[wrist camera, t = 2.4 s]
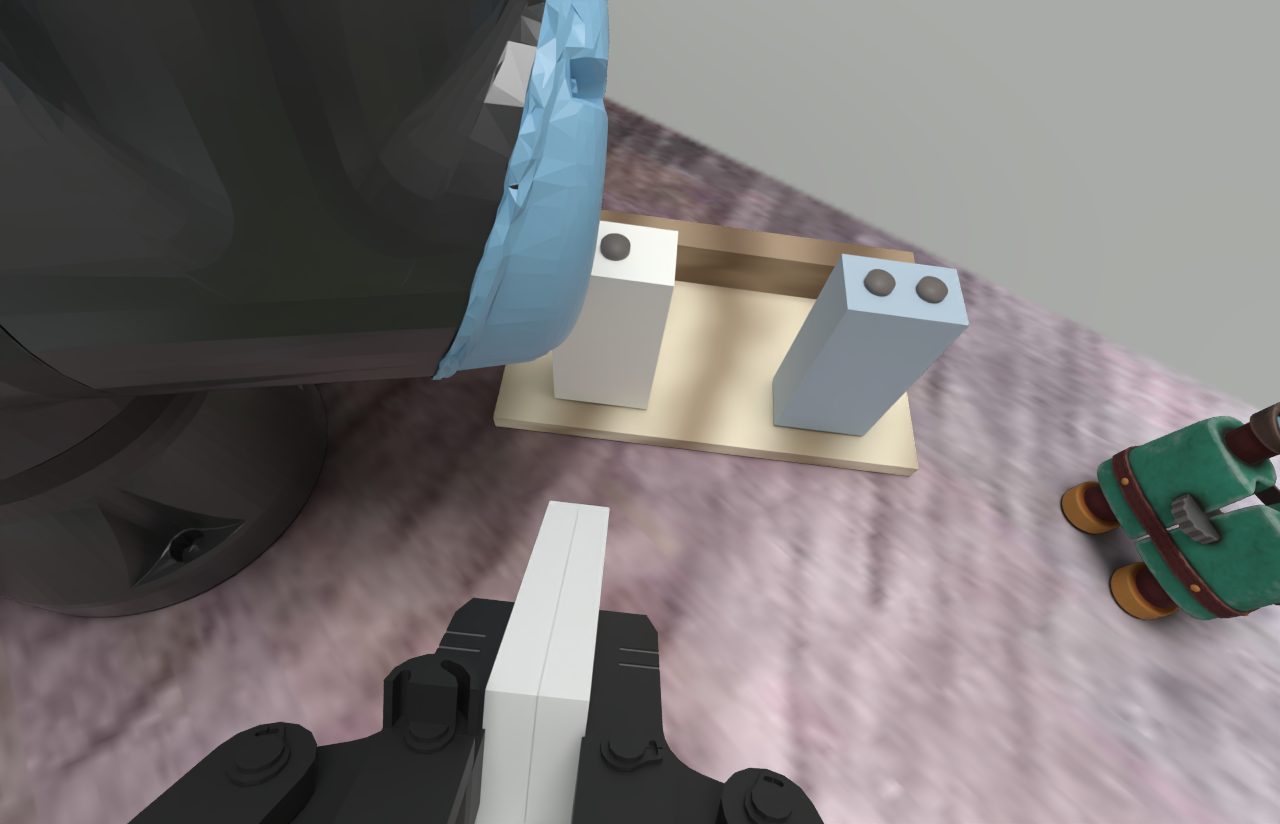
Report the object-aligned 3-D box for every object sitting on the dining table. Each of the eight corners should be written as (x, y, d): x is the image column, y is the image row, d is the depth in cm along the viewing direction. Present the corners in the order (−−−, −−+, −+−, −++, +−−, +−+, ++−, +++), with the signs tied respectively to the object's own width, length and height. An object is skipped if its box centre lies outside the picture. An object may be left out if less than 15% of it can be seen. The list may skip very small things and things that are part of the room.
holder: (495, 425, 32) (485, 387, 29) (536, 249, 38) (533, 200, 35) (909, 476, 33) (949, 444, 30) (882, 295, 39) (913, 252, 36)
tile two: (774, 425, 32) (851, 304, 23) (772, 374, 34) (844, 243, 25) (863, 436, 33) (973, 320, 24) (857, 385, 34) (959, 259, 25)
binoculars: (1546, 546, 23) (1396, 598, 20) (1256, 604, 32) (1124, 646, 29) (1367, 358, 27) (1221, 380, 24) (1153, 457, 36) (1028, 481, 33)
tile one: (554, 397, 32) (546, 263, 23) (563, 347, 33) (560, 204, 24) (647, 409, 32) (675, 280, 23) (651, 358, 34) (679, 220, 25)
